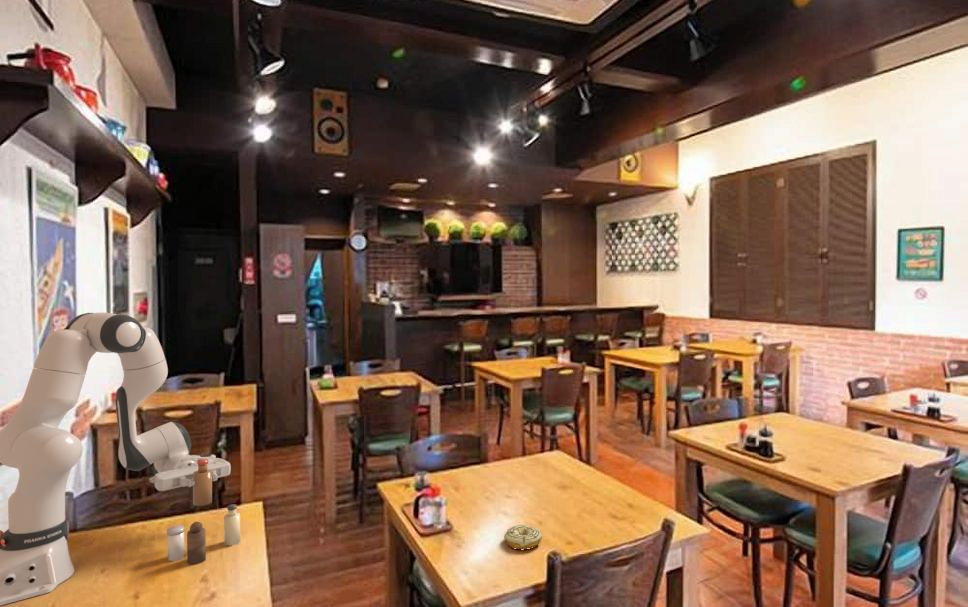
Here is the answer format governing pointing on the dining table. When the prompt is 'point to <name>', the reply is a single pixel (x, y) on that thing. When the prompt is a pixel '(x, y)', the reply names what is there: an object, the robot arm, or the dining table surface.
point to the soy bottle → (202, 484)
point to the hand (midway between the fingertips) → (204, 480)
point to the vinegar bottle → (232, 526)
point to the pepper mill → (196, 544)
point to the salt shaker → (175, 542)
